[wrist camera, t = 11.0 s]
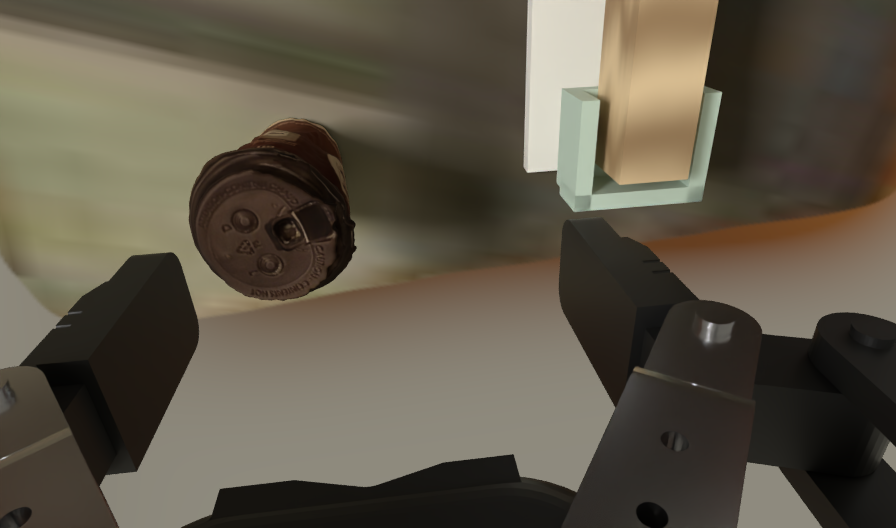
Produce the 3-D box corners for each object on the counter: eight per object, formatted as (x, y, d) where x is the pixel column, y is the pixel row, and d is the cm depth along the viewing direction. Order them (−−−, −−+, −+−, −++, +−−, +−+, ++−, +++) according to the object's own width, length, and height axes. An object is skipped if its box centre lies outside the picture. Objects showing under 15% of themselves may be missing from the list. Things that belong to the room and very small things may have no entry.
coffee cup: (377, 126, 38) (377, 192, 27) (346, 231, 42) (334, 329, 30) (248, 85, 36) (188, 137, 24) (226, 199, 39) (164, 292, 28)
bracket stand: (533, -195, 31) (585, -251, 23) (703, -199, 32) (809, -254, 24) (523, 167, 41) (557, 213, 33) (653, 157, 41) (717, 200, 34)
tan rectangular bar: (620, -178, 27) (662, -203, 23) (699, -180, 27) (753, -206, 23) (592, 160, 35) (619, 184, 31) (653, 156, 35) (687, 179, 31)
